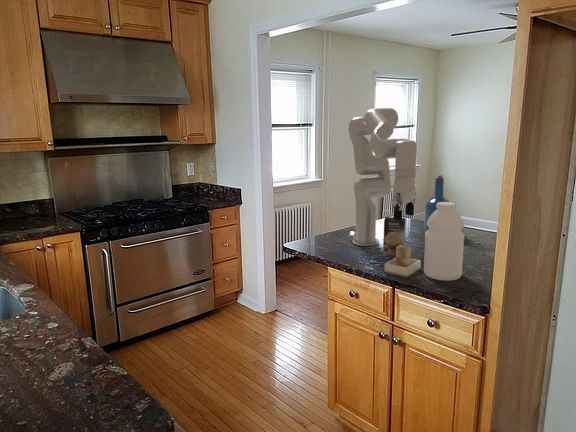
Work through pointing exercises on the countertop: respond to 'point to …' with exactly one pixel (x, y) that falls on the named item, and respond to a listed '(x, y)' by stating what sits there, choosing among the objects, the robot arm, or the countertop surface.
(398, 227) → the coffee box
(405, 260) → the tan rounded cylinder
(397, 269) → the white square tray
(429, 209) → the wine bottle
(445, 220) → the bottle
